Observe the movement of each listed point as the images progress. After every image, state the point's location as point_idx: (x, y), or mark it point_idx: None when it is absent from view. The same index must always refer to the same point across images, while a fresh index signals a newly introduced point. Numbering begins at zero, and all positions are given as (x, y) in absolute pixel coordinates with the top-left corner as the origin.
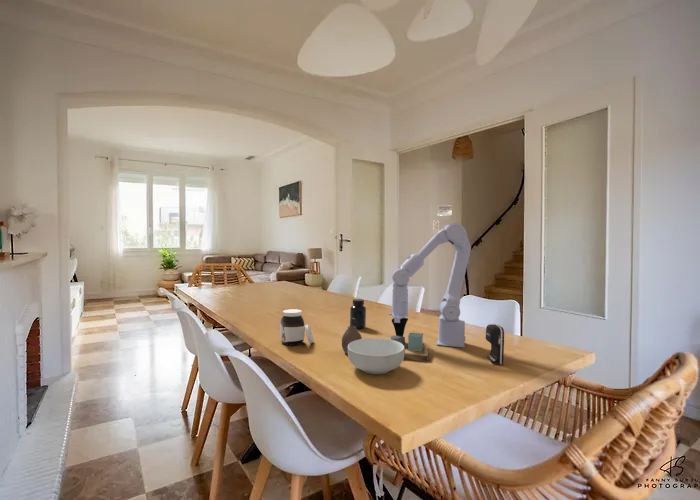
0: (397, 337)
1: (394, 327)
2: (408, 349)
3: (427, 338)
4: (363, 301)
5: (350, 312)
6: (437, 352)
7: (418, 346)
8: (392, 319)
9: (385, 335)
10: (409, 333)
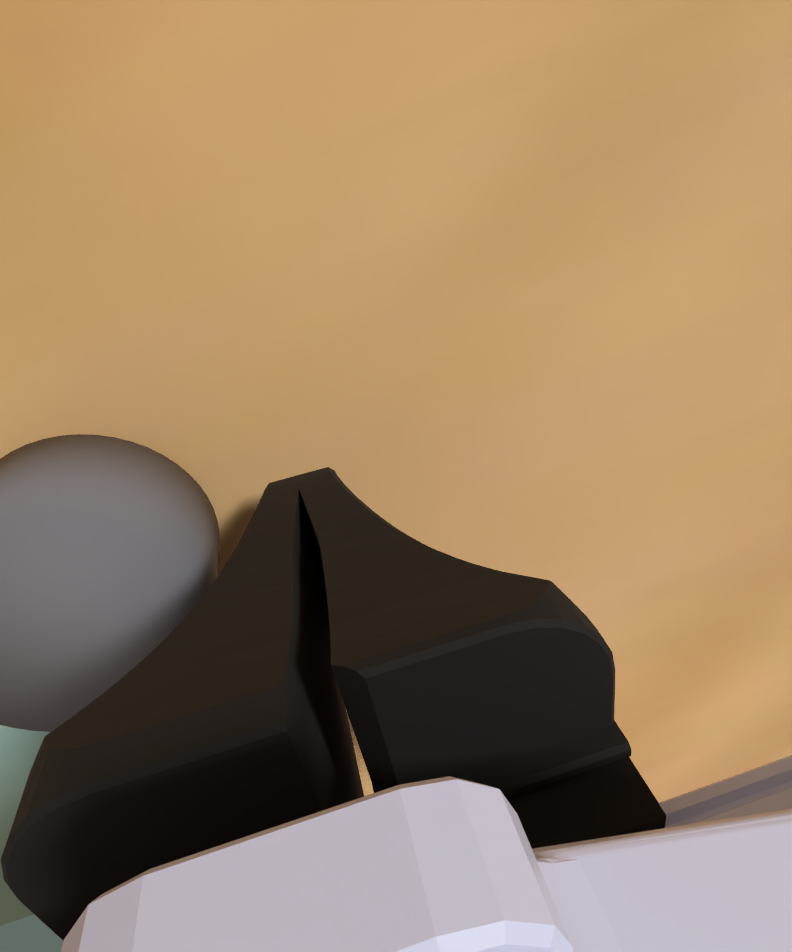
0: (56, 629)
1: (182, 620)
2: (2, 732)
3: (628, 659)
4: None
5: None
6: None
7: None
8: (114, 809)
9: (608, 57)
10: None
